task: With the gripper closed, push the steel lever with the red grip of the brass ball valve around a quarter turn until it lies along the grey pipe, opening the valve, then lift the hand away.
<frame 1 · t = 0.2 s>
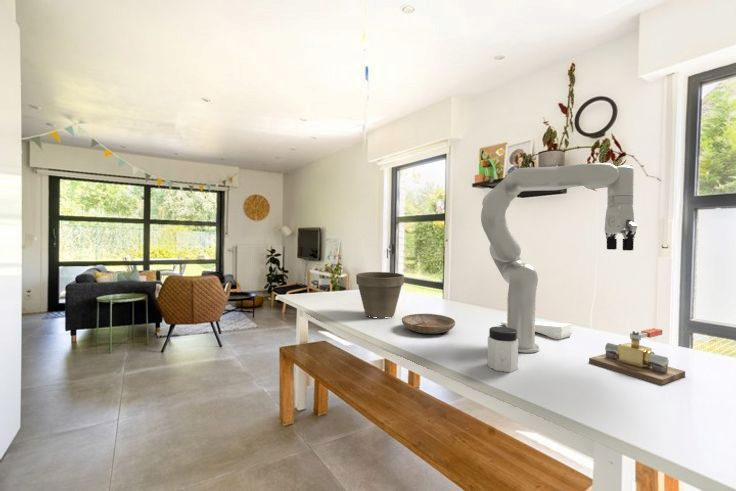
hand: (619, 249, 127), 37 cm above the table, tool pointing down, fingers open, 9 cm apart
ball valve: (635, 351, 112), on the base board, point 5 cm above the table
base board: (634, 369, 112), on the table
jar: (502, 368, 113), on the table
plant pot: (379, 316, 185), on the table
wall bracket: (534, 332, 157), on the table
ceramic bowl: (428, 330, 157), on the table
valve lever: (645, 333, 115), point 11 cm above the table, hinge at 0.0°
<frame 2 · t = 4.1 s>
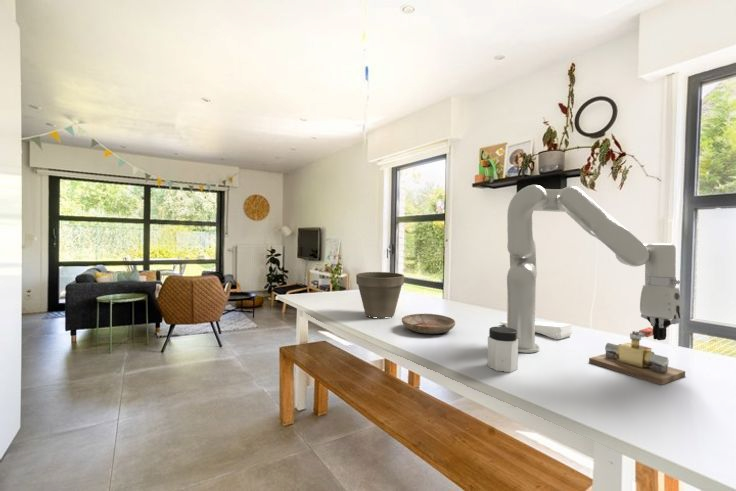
hand: (659, 339, 114), 9 cm above the table, tool pointing down, fingers closed
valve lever: (643, 332, 115), point 11 cm above the table, hinge at 5.6°, touching gripper
everything else where it was.
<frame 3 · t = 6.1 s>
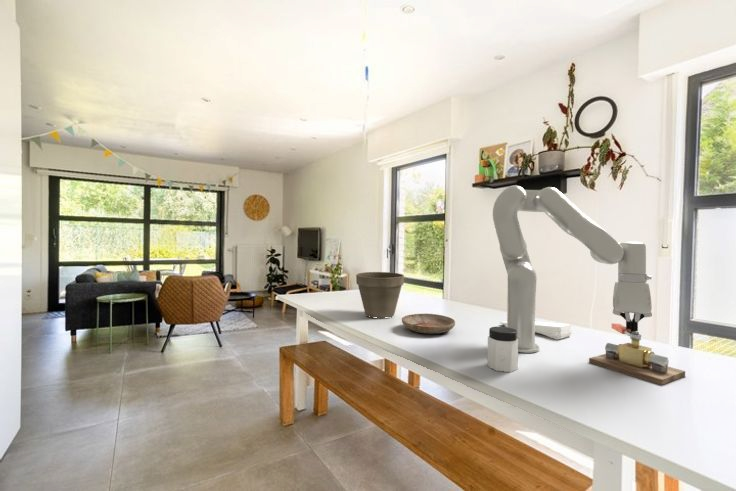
hand: (631, 332, 120), 9 cm above the table, tool pointing down, fingers closed
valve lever: (625, 330, 118), point 11 cm above the table, hinge at 48.9°, touching gripper
everything else where it was.
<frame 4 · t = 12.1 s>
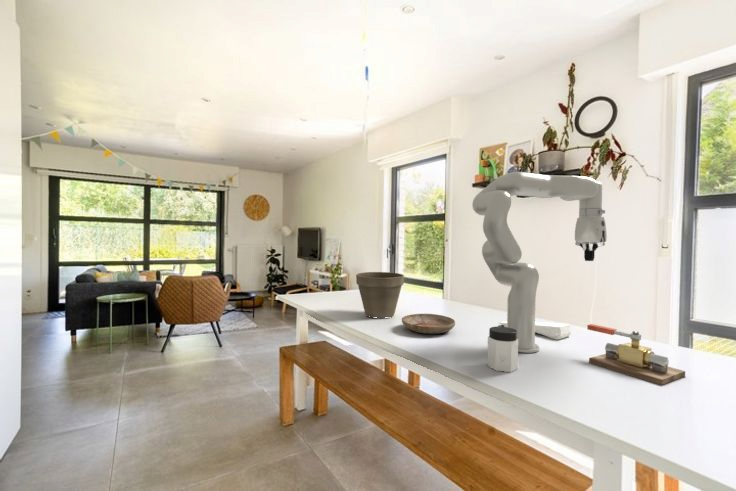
hand: (589, 260, 140), 32 cm above the table, tool pointing down, fingers closed
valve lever: (613, 330, 117), point 11 cm above the table, hinge at 91.2°
everything else where it was.
at the end: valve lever at +91° (first picture: +0°) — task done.
